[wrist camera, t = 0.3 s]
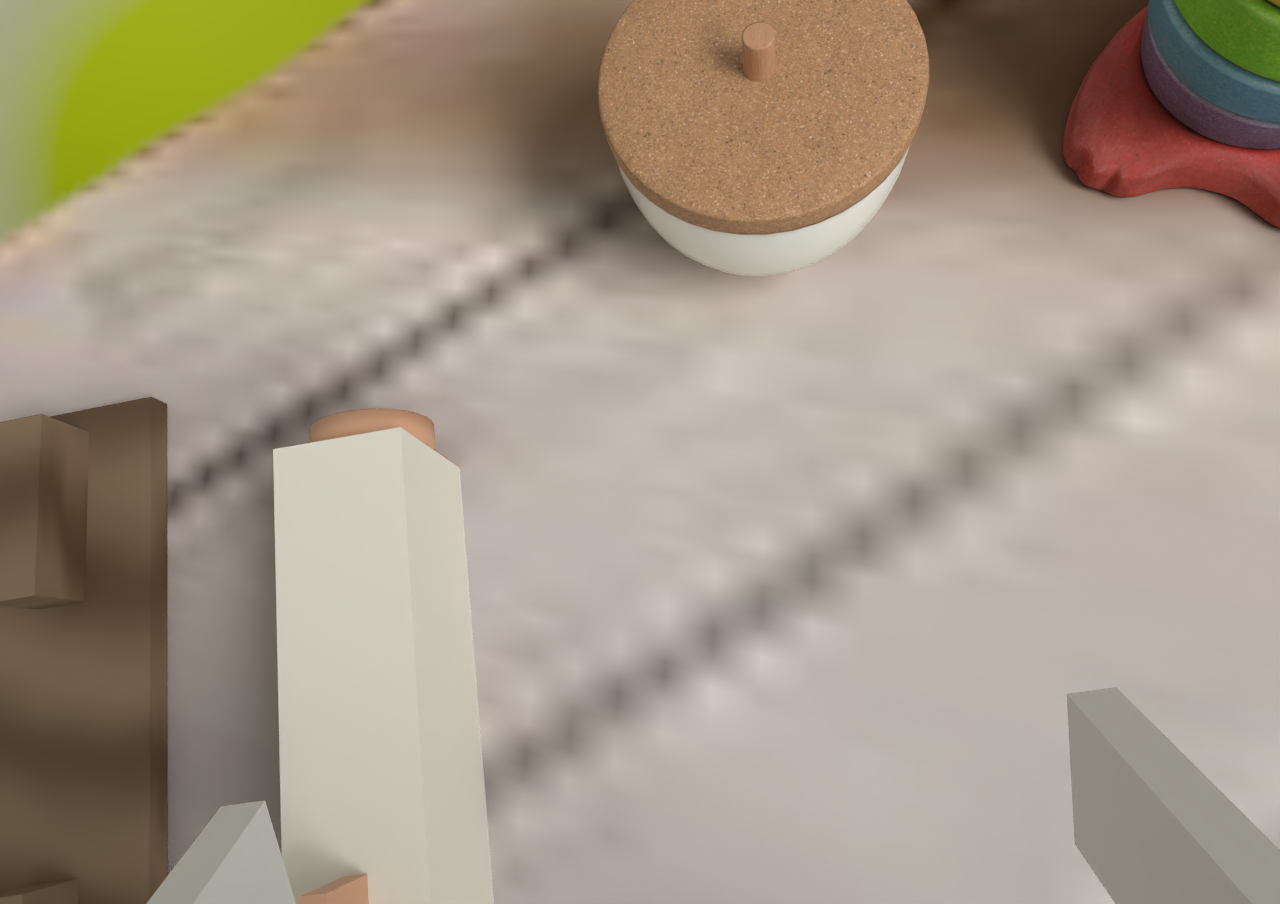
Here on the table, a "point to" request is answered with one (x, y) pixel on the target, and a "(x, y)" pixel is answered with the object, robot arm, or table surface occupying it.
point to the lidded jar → (762, 122)
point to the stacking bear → (1184, 104)
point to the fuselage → (377, 669)
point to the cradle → (83, 655)
